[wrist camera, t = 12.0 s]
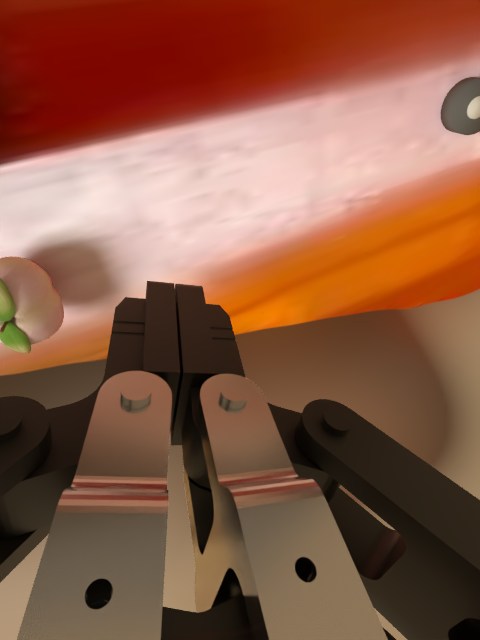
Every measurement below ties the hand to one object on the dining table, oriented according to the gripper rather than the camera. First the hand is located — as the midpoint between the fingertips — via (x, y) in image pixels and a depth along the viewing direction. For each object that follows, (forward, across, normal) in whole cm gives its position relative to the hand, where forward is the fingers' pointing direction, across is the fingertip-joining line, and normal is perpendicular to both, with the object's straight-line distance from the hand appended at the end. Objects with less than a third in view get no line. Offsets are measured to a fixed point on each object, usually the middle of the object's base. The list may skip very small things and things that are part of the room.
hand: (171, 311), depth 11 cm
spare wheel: (+31, +31, +8) cm, 45 cm away
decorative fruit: (+32, -13, -18) cm, 39 cm away
